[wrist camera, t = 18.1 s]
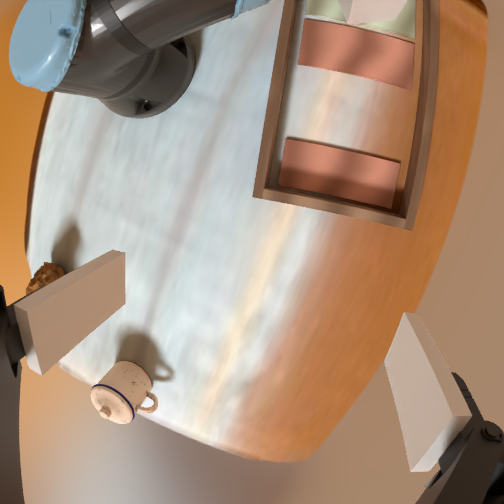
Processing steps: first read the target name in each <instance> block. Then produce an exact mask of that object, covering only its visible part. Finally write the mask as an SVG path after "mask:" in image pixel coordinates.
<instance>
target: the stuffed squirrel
mask: <svg viewBox="0 0 504 504" xmlns="http://www.w3.org/2000/svg"><path fill="white" fill-rule="evenodd" d="M64 275H65V272H64V271H63V270H62V269H61V267H58V266H57V265H55V264H53V263H48V262H46V263H45V262H44V265H43V266H41V268H39V270H37V272H36V273H35V274H34V278H33V279H31V281H30V283H29V285H28V287H27V288H26V295H27V296H28V294H29V293H31V292H34V291H35V290H36V289H38V288H40V287H42V286H44V285H47V284H50V283H52V282H54V281H55V280H57V279H59V278H61V277H63V276H64Z"/></svg>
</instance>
